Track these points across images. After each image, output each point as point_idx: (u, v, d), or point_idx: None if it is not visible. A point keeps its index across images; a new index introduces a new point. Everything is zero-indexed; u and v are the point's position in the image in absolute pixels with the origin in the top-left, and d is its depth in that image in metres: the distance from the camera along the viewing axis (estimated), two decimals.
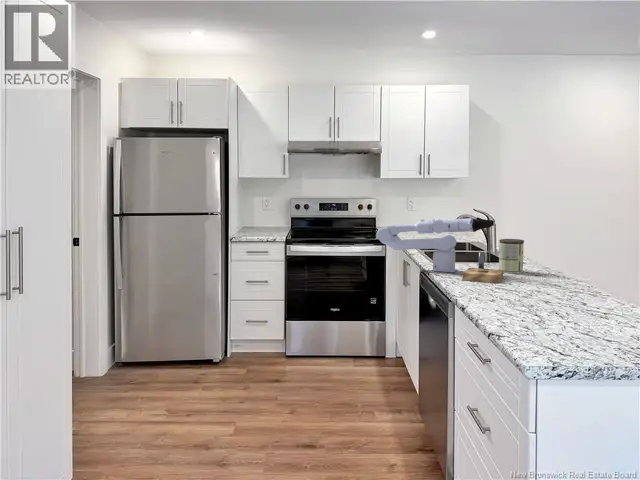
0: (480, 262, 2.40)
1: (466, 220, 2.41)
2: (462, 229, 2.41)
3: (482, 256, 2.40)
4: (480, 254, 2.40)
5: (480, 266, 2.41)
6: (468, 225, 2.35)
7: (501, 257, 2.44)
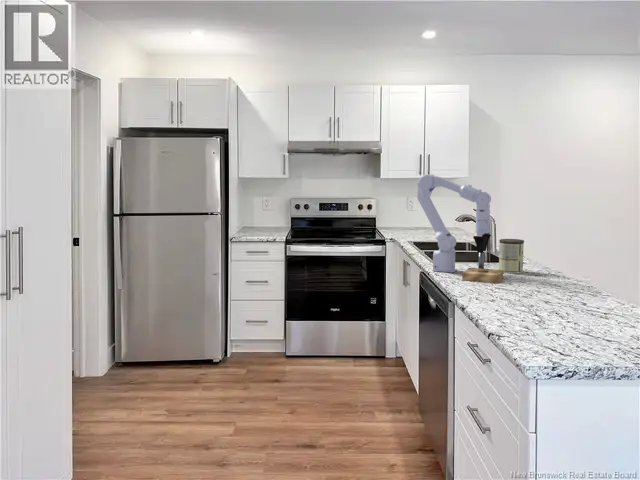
0: (480, 262, 2.40)
1: (486, 228, 2.37)
2: (477, 223, 2.38)
3: (482, 256, 2.40)
4: (480, 254, 2.40)
5: (480, 266, 2.41)
6: (480, 233, 2.33)
7: (501, 257, 2.44)
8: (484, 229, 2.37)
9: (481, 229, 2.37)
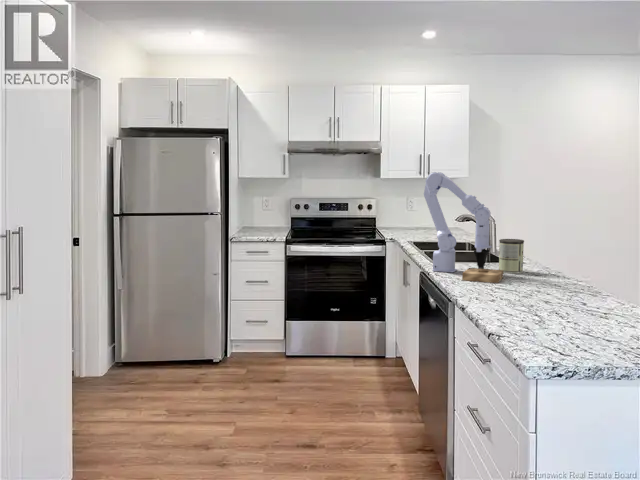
0: None
1: (486, 243, 2.38)
2: (477, 238, 2.39)
3: None
4: None
5: None
6: (479, 248, 2.34)
7: (501, 257, 2.44)
8: (483, 244, 2.38)
9: (480, 244, 2.38)
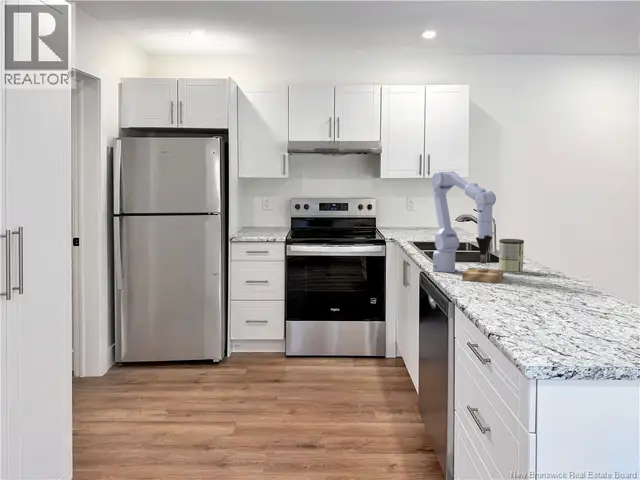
0: None
1: (489, 229, 2.25)
2: (479, 224, 2.26)
3: None
4: None
5: (482, 255, 2.28)
6: (482, 235, 2.21)
7: (501, 257, 2.44)
8: (486, 230, 2.25)
9: (483, 230, 2.25)
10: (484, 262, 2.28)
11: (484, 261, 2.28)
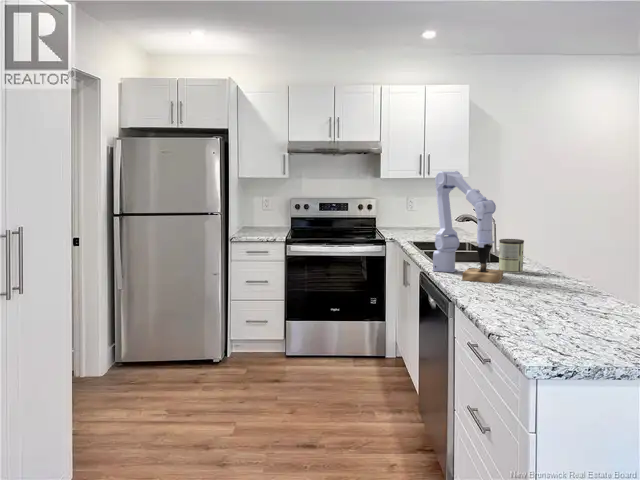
0: None
1: (488, 238, 2.25)
2: (479, 233, 2.26)
3: None
4: None
5: (482, 264, 2.27)
6: (481, 244, 2.21)
7: (501, 257, 2.44)
8: (486, 239, 2.24)
9: (483, 239, 2.25)
10: (484, 271, 2.27)
11: (484, 270, 2.27)
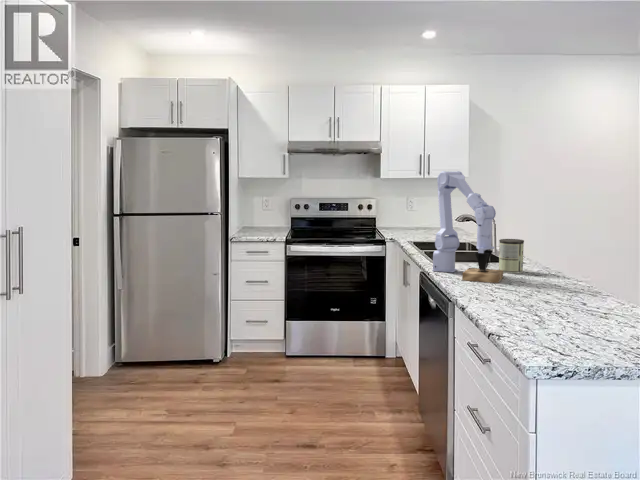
0: None
1: (488, 244, 2.25)
2: (479, 239, 2.26)
3: None
4: None
5: (482, 271, 2.28)
6: (481, 249, 2.21)
7: (501, 257, 2.44)
8: (486, 245, 2.25)
9: (483, 245, 2.25)
10: None
11: None
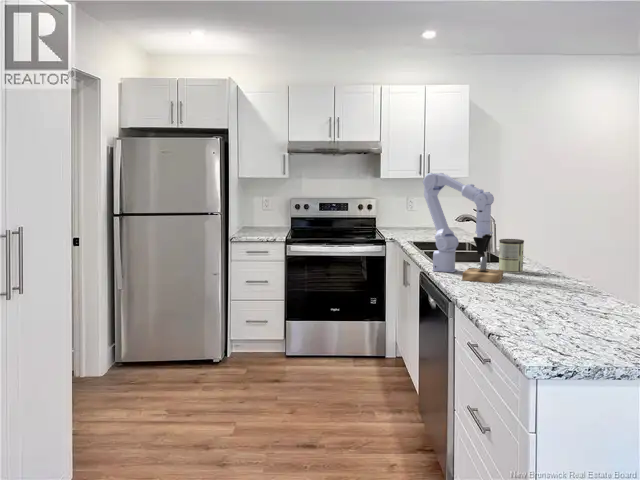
0: (482, 267, 2.28)
1: (487, 229, 2.32)
2: (478, 224, 2.33)
3: (484, 260, 2.27)
4: (482, 258, 2.27)
5: (482, 271, 2.28)
6: (480, 234, 2.28)
7: (501, 257, 2.44)
8: (485, 230, 2.31)
9: (481, 230, 2.32)
10: None
11: None
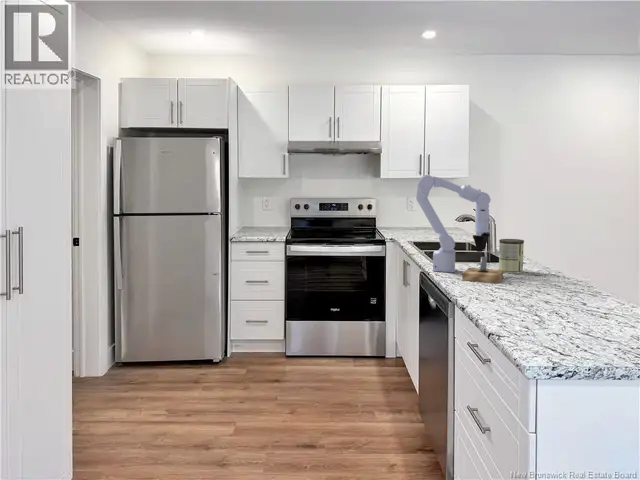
0: (482, 267, 2.28)
1: (485, 227, 2.41)
2: (476, 223, 2.42)
3: (484, 260, 2.27)
4: (482, 258, 2.27)
5: (482, 271, 2.28)
6: (479, 232, 2.37)
7: (501, 257, 2.44)
8: (483, 228, 2.41)
9: (480, 228, 2.41)
10: None
11: None
